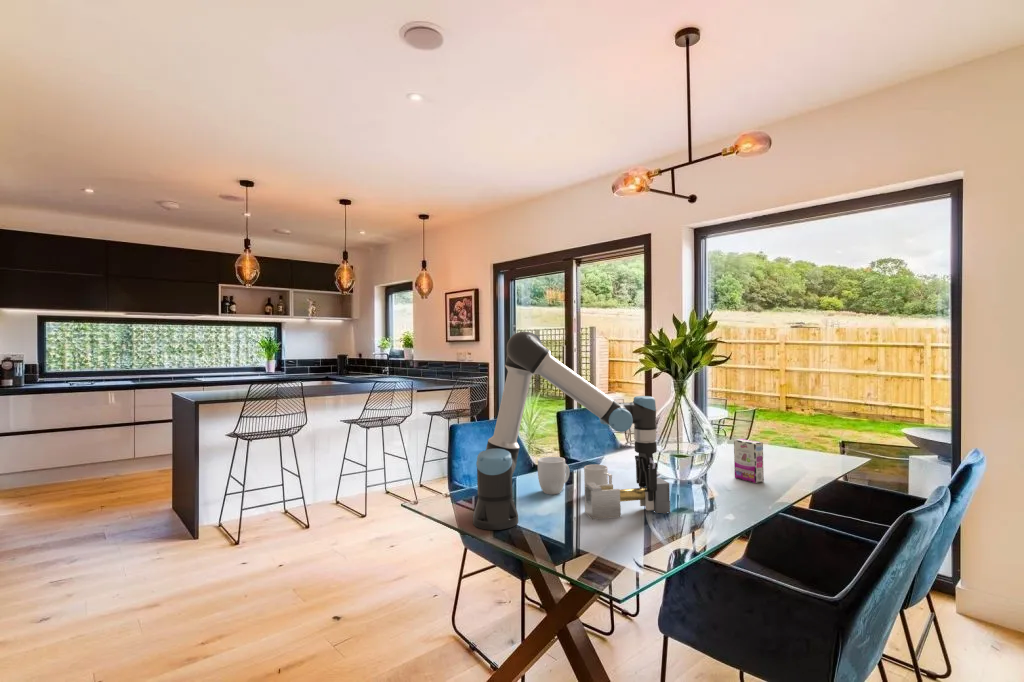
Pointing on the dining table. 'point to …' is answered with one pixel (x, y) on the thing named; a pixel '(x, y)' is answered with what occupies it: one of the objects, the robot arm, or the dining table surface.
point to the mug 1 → (552, 474)
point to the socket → (662, 497)
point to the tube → (632, 494)
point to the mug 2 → (597, 474)
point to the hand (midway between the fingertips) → (646, 507)
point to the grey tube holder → (602, 501)
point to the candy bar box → (748, 460)
